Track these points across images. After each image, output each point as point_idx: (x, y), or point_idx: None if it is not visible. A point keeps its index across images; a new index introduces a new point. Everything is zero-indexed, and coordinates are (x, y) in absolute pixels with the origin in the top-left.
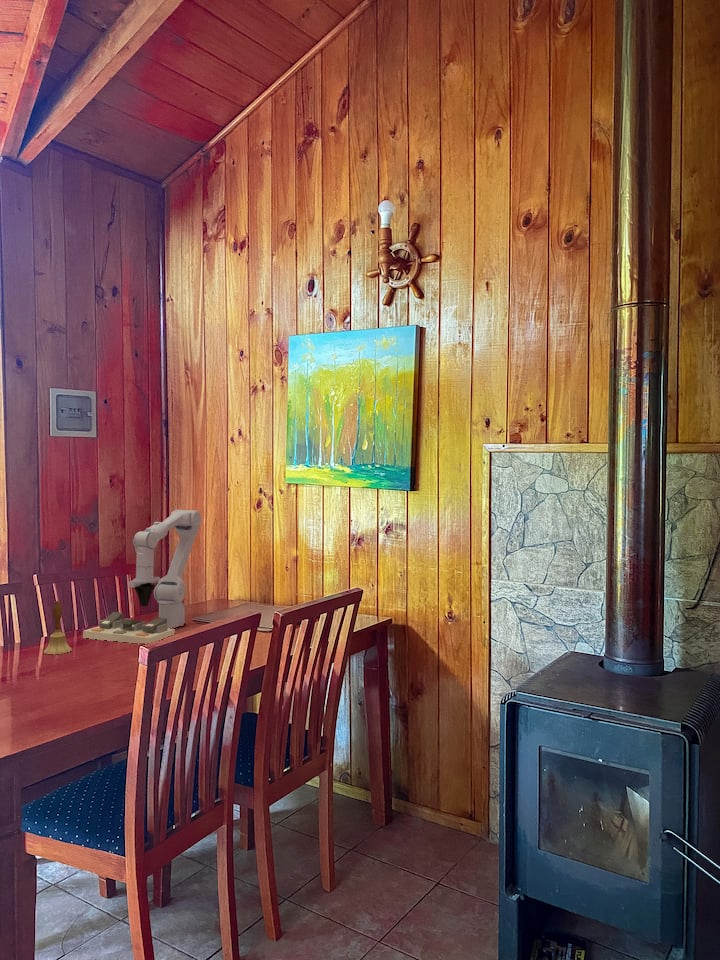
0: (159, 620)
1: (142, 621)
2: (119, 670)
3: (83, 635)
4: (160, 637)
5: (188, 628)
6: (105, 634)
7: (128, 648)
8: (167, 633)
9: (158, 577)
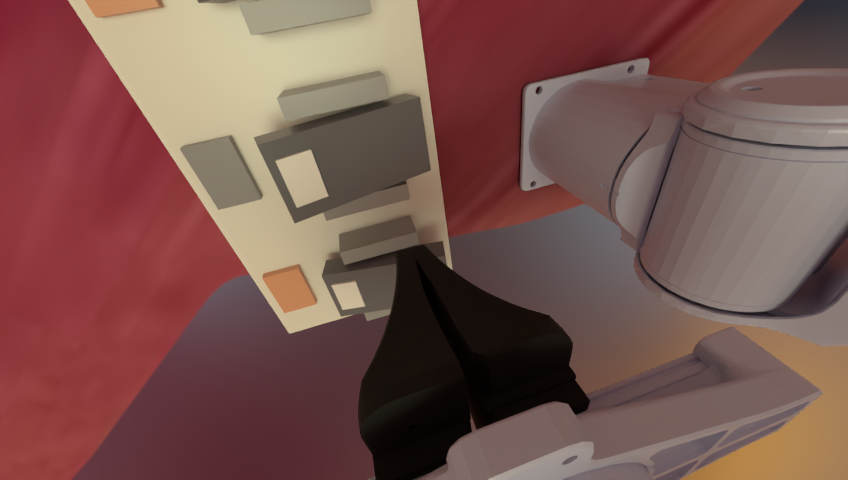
0: None
1: (406, 178)
2: (47, 459)
3: None
4: None
5: (569, 208)
6: (139, 97)
7: (199, 296)
8: None
9: (746, 439)
